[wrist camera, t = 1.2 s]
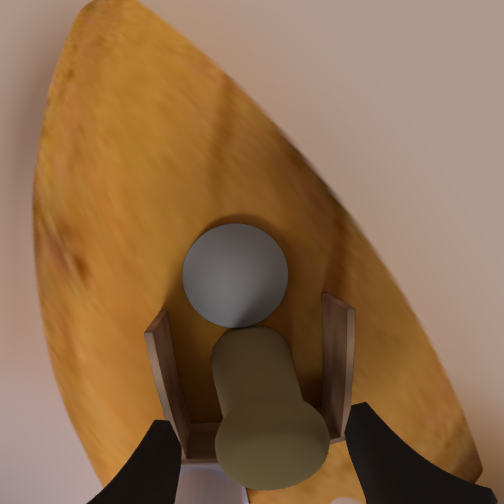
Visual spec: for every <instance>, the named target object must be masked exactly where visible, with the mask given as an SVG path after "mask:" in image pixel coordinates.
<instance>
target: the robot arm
mask: <svg viewBox="0 0 504 504" xmlns="http://www.w3.org/2000/svg"><path fill="white" fill-rule="evenodd" d="M344 434H345V438H346V443H347V447H348V451H349V454H350V457H351V460H352V463H353V465H354V468H355V471H356V473H357V476H358V478H359V481H360V484H361V486H362V489H363V492H364V495H365V498H366V503H367V504H497V502H498V501H497V499H496V497H495V495H494V493H493V491H492V490H491V489H490V488H487V487H483V486H479V485H476V484H473V483H470V482H468V481H465V480H463V479H460V478H458V477H456V476H454V475H452V474H450V473H448V472H446V471H444V470H442V469H440V468H439V467H437V466H436V465H434V464H432V463H431V462H429V461H428V460H426V459H425V458H424V457H422V456H421V455H420V454H418V453H417V452H416V451H414V450H413V449H412V448H411V447H410V446H408V445H407V444H406V443H405V442H404V441H403V440H402V439H401V438H400V437H399V436H398V435H396V434H395V433H394V432H393V431H392V430H391V429H390V428H389V427H388V426H387V425H386V423H385V422H384V421H383V420H382V419H381V418H380V417H379V416H378V415H377V414H376V413H375V411H374V410H373V409H372V408H371V407H370V406H369V405H368V403H366V402H363V403H359V404H355V405H351V409H350V413H349V417H348V421H347V424H346V428H345V431H344ZM181 458H182V445H181V443H180V441H179V439H178V437H177V435H176V433H175V431H174V429H173V427H172V425H171V423H170V421H168V420H155V421H154V422H153V423H152V425H151V427H150V428H149V430H148V431H147V433H146V435H145V436H144V438H143V439H142V441H141V442H140V444H139V446H138V447H137V448H136V450H135V451H134V453H133V454H132V456H131V457H130V458H129V460H128V461H127V462H126V464H125V465H124V466H123V468H122V469H121V470H120V471H119V472H118V474H117V475H116V476H115V477H114V478H113V479H112V481H111V482H110V483H109V484H108V485H107V486H106V487H105V488H104V489H103V490H102V491H101V492H100V493H99V494H97V495H96V496H95V497H94V498H93V499H92V500H91V501H89V502H88V503H87V504H249V502H248V497H247V493H246V488H245V487H244V486H241V485H240V484H238V483H236V482H235V481H233V480H232V479H231V478H230V477H228V476H227V475H226V473H225V472H224V471H223V469H222V468H221V467H220V465H219V462H217V463H187V464H181Z"/></svg>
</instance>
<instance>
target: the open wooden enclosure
mask: <svg viewBox="0 0 504 504" xmlns="http://www.w3.org/2000/svg"><path fill="white" fill-rule="evenodd" d="M322 325H323V390H322V406H320V407H315V408H314V409H315V410H316V411H317V412H318V413H319V414H320V415H321V416H322V418H323V419H324V421H325V423H326V426H327V429H328V432H329V437H330V444H334V443H337V442H341V441H344V440H346V438H345V434H344V431H345V428H346V424H347V421H348V417H349V413H350V406H351V395H352V382H353V366H354V342H355V308H353V307H351V306H350V305H348V304H346V303H344V302H343V301H341V300H339V299H338V298H336V297H334V296H332V295H331V294H329V293H324V294H322ZM144 336H145V341H146V345H147V350H148V354H149V359H150V363H151V367H152V371H153V375H154V379H155V383H156V387H157V391H158V394H159V398H160V401H161V405H162V408H163V412H164V415H165V418H166V420H168V421H170V423H171V425H172V427H173V429H174V431H175V433H176V435H177V437H178V439H179V441H180V443H181V445H182V458H181V464H187V463H217V462H218V460H217V456H216V450H215V438H216V435H217V432H218V429H219V426H220V424H221V422H207V423H190V419H189V415H188V411H187V407H186V403H185V399H184V395H183V391H182V386H181V382H180V377H179V373H178V368H177V363H176V358H175V353H174V348H173V343H172V338H171V332H170V326H169V321H168V314H167V311H160V312H159V313H158V315H157V316H156V317H155V319H154V320H153V321H152V323H151V324H150V326H149V327H148V328H147V330H146V331H145V332H144Z"/></svg>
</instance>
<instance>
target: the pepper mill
mask: <svg viewBox="0 0 504 504" xmlns="http://www.w3.org/2000/svg"><path fill="white" fill-rule="evenodd" d="M210 361H211V371H212V375H213V379H214V383H215V387H216V391H217V395H218V399H219V403H220V407H221V411H222V414H223V418H224V419H223V420H222V422H221V424H220V426H219V429H218V432H217V435H216V438H215V450H216V456H217V460H218V462H219V465H220V467H221V468H222V469H223V471H224V472H225V473H226V475H227V476H228V477H230V478H231V479H232V480H233V481H235V482H236V483H238V484H240V485H241V486H244V487H247V488H251V489H255V490H276V489H284V488H287V487H290V486H293V485H296V484H299V483H300V482H302V481H304V480H306V479H308V478H309V477H311V476H312V475H313V474H314V473H315V472H317V471H318V470H319V469H320V467H321V466H322V464H323V463H324V461H325V460H326V457H327V454H328V450H329V445H330V437H329V432H328V429H327V426H326V423H325V421H324V419H323V418H322V416H321V415H320V414H319V413H318V412H317V411H316V410H315V409H314V408H313V407H312V406H311V405H310V404H308V403H307V402H305V401H303V398H302V394H301V390H300V386H299V382H298V378H297V374H296V370H295V366H294V362H293V358H292V354H291V351H290V348H289V345H288V343H287V341H286V340H285V339H284V338H283V337H282V335H281V334H280V333H278V332H276V331H275V330H273V329H271V328H270V327H266V326H261V325H257V324H256V325H250V326H247V327H241V328H234V329H231V330H230V331H228V332H227V333H226V334H224V335H223V336H222V337H220V339H219V340H218V342H217V343H216V344H215V346H214V347H213V350H212V354H211V358H210Z"/></svg>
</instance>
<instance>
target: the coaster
mask: <svg viewBox="0 0 504 504" xmlns="http://www.w3.org/2000/svg"><path fill="white" fill-rule="evenodd" d="M182 277H183V286H184V290H185V293H186V296H187V298H188V300H189V302H190V303H191V305H192V306H193V308H194V309H195V310H196V311H197V312H198V313H199V314H200V315H201V316H202V317H204V318H205V319H207V320H208V321H210V322H212V323H214V324H217V325H220V326H224V327H230V328H241V327H247V326H250V325H254V324H256V323H258V322H260V321H262V320H264V319H265V318H267V317H268V316H269V315H270V314H272V312H273V311H274V310H275V309H276V308H277V307H278V305H279V304H280V302H281V301H282V299H283V297H284V294H285V292H286V288H287V284H288V267H287V262H286V259H285V256H284V254H283V252H282V250H281V248H280V247H279V245H278V244H277V243H276V241H275V240H274V239H273V238H272V237H271V236H269V235H268V234H267V233H265V232H264V231H262V230H260V229H259V228H256V227H254V226H251V225H246V224H239V223H232V224H225V225H221V226H217V227H215V228H213V229H211V230H209V231H207V232H206V233H204V234H203V235H202V236H201V237H199V238H198V239H197V240H196V242H195V243H194V244H193V245H192V247H191V248H190V250H189V252H188V254H187V256H186V259H185V261H184V266H183V274H182Z"/></svg>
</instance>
